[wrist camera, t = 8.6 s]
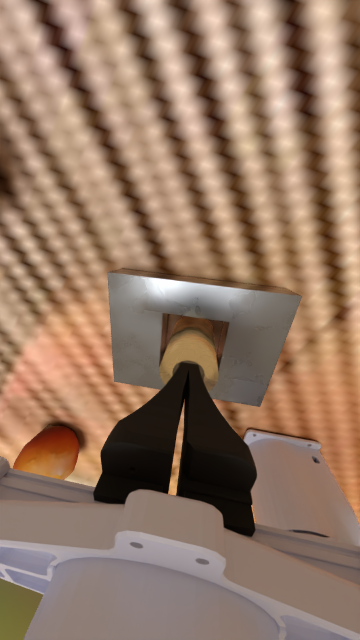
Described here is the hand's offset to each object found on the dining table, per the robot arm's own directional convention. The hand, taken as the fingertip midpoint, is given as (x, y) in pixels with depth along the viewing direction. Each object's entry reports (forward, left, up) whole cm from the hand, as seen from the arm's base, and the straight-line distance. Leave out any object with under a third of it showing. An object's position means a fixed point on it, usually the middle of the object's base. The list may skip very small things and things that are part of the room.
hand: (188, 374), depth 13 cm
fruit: (+19, +23, -7) cm, 31 cm away
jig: (0, 0, -7) cm, 7 cm away
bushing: (0, 0, -7) cm, 7 cm away
